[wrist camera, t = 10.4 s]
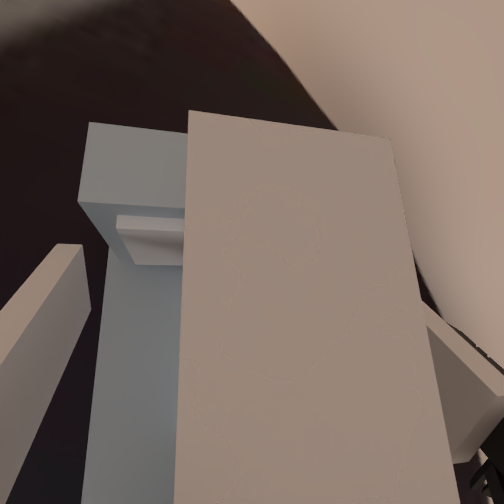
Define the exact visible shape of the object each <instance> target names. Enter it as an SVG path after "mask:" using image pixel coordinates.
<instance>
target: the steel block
mask: <svg viewBox="0 0 504 504" xmlns="http://www.w3.org/2000/svg"><path fill="white" fill-rule="evenodd" d="M173 504H460V500H459V495H458V490H457V484H456V479H455V474H454V469H453V464H452V458H451V453H450V448H449V443H448V437H447V432H446V427H445V422H444V416H443V411H442V406H441V401H440V396H439V390H438V385H437V380H436V375H435V369H434V364H433V359H432V354H431V348H430V343H429V338H428V333H427V327H426V322H425V317H424V312H423V307H422V301H421V296H420V291H419V286H418V280H417V275H416V270H415V265H414V259H413V254H412V249H411V244H410V239H409V234H408V228H407V223H406V218H405V212H404V207H403V202H402V197H401V192H400V186H399V181H398V176H397V171H396V165H395V161H394V155H393V150H392V145H391V139H390V138H384V137H376V136H369V135H362V134H355V133H348V132H341V131H334V130H327V129H319V128H312V127H305V126H298V125H291V124H284V123H277V122H270V121H262V120H255V119H248V118H241V117H234V116H227V115H220V114H213V113H205V112H198V111H191V110H189V119H188V143H187V168H186V192H185V216H184V241H183V265H182V291H181V316H180V342H179V368H178V393H177V419H176V445H175V472H174V499H173Z"/></svg>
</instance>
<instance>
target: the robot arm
mask: <svg viewBox="0 0 504 504" xmlns="http://www.w3.org/2000/svg"><path fill="white" fill-rule="evenodd" d="M421 301H422V300H421ZM422 307H423V312H424V317H425V322H426V327H427V333H428V338H429V343H430V348H431V354H432V359H433V364H434V369H435V375H436V380H437V385H438V390H439V396H440V401H441V406H442V411H443V416H444V422H445V427H446V432H447V437H448V443H449V448H450V453H451V458H452V464H455V463H462V462H469V460H470V459H471V458H472V457H473V456H474V454H475V453H476V452H477V451H478V449H479V448H481V450H482V451H483V452H484V453H485V455H486V456H487V457H488V459H487V460H486V462H485V463H484V464H483V465H482V466H481V467H480V469H479V470H478V471H477V472H476V473H475V474H474V476H473V477H472V479H471V480H470V487H471V489H472V490H474V491H476V490H477V488H478V487H479V486H480V485H481V484H482V483H483V482H484V481H485V480H487V484H486V485H485V486H484V487H483V490H482V494H484V495H486V496H489V497H491V498H492V500H493V503H494V504H504V369H503V368H502V367H500V366H499V365H498V364H497V363H496V362H495V361H494V360H492V359H491V358H490V357H489V358H488V357H487V354H486V353H485V352H484V351H483V350H481V349H480V348H479V347H476V344H474V342H473V341H471V340H470V339H469V338H468V337H467V336H466V335H464V333H463V332H461V331H459V330H458V329H456V328H455V327H453V326H451V325H450V324H448V323H447V322H445V321H444V320H443V319H441V318H440V317H439V316H438V315H437V314H436V313H435V312H434V311H433V310H432V309H431V308H429V307H428V306H427V305H426V304H425V303H424V302H423V301H422ZM90 311H91V305H90V297H89V290H88V283H87V275H86V268H85V260H84V253H83V246H82V245H76V244H57V245H56V246H55V247H54V248H53V249H52V250H51V252H50V253H49V254H48V255H47V256H46V258H45V259H44V260H43V261H42V262H41V263H40V265H39V266H38V267H37V268H36V269H35V271H34V272H33V273H32V274H31V275H30V276H29V278H28V279H27V280H26V281H25V282H24V284H23V285H22V286H21V287H20V288H19V289H18V291H17V292H16V293H15V294H14V295H13V297H12V298H11V299H10V300H9V301H8V303H7V304H6V305H5V306H4V307H3V308H2V310H1V311H0V504H5V503H6V501H7V498H8V496H9V494H10V492H11V489H12V487H13V485H14V483H15V480H16V478H17V476H18V474H19V471H20V469H21V467H22V464H23V462H24V460H25V458H26V455H27V453H28V451H29V449H30V446H31V444H32V442H33V440H34V437H35V435H36V433H37V431H38V428H39V426H40V424H41V422H42V419H43V417H44V415H45V413H46V410H47V408H48V406H49V403H50V401H51V399H52V397H53V394H54V392H55V390H56V388H57V385H58V383H59V381H60V379H61V376H62V374H63V372H64V370H65V367H66V365H67V363H68V361H69V358H70V356H71V354H72V351H73V349H74V347H75V345H76V342H77V340H78V338H79V336H80V333H81V331H82V329H83V327H84V324H85V322H86V320H87V318H88V315H89V313H90Z"/></svg>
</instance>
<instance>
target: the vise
mask: <svg viewBox="0 0 504 504" xmlns="http://www.w3.org/2000/svg"><path fill="white" fill-rule="evenodd" d="M187 143H188V134H185V133H177V132H169V131H160V130H152V129H144V128H135V127H127V126H119V125H110V124H102V123H93V122H89V127H88V134H87V141H86V148H85V155H84V161H83V168H82V175H81V182H80V188H79V195H78V203H79V204H80V206H81V207H82V208H83V210H84V211H85V213H86V214H87V216H88V217H89V218H90V220H91V221H92V223H93V224H94V225H95V227H96V228H97V230H98V231H99V233H100V234H101V235H102V237H103V238H104V240H105V241H106V242H107V244H108V245H109V254H108V263H107V272H106V281H105V291H104V300H103V309H102V318H101V327H100V336H99V346H98V355H97V364H96V373H95V382H94V391H93V400H92V410H91V419H90V428H89V437H88V446H87V455H86V464H85V474H84V483H83V492H82V501H81V504H173V499H174V472H175V445H176V419H177V393H178V368H179V342H180V316H181V291H182V265H183V241H184V216H185V192H186V168H187Z"/></svg>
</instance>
